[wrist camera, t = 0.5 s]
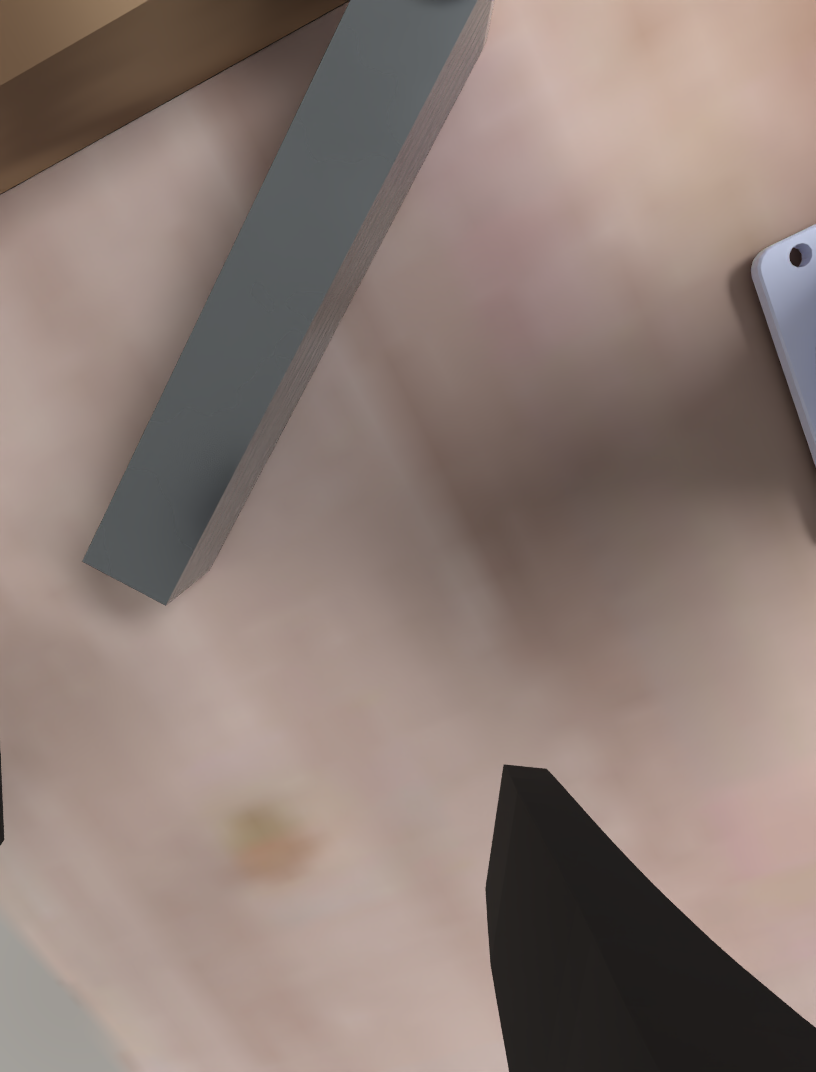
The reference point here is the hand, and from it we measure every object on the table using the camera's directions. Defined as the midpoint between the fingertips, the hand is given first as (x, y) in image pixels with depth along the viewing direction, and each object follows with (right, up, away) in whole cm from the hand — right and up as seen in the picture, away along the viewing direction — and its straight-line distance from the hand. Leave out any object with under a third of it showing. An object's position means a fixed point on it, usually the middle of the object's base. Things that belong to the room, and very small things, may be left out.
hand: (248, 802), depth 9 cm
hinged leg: (0, +10, +6) cm, 12 cm away
